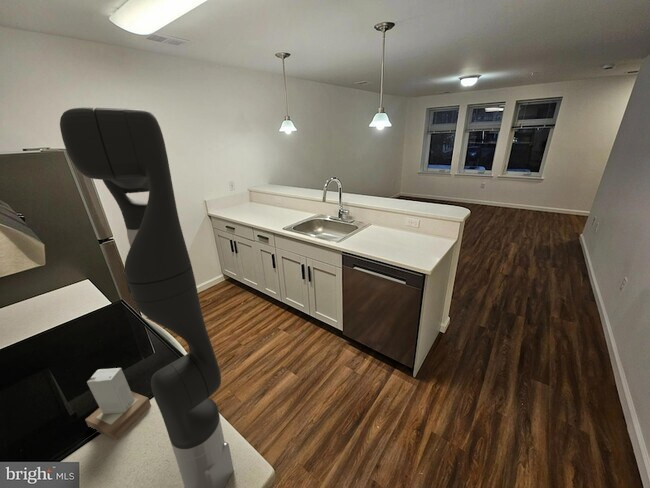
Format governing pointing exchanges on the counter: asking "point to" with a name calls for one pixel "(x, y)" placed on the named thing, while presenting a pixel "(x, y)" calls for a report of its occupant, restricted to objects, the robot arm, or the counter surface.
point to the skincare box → (111, 390)
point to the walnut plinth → (118, 418)
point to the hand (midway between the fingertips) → (161, 295)
